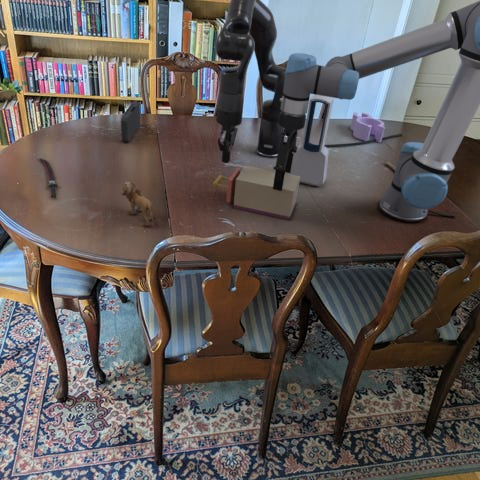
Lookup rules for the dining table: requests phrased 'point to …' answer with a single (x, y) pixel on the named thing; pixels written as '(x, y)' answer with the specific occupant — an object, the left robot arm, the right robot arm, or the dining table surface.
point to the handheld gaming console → (130, 121)
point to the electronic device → (313, 148)
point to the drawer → (230, 184)
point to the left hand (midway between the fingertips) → (225, 161)
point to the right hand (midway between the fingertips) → (281, 180)
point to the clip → (367, 127)
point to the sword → (52, 181)
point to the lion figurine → (137, 201)
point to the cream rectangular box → (265, 193)
